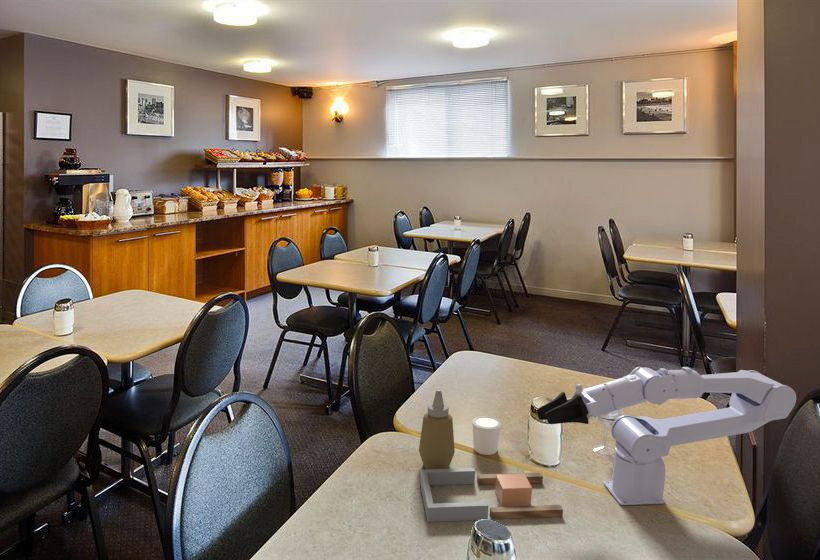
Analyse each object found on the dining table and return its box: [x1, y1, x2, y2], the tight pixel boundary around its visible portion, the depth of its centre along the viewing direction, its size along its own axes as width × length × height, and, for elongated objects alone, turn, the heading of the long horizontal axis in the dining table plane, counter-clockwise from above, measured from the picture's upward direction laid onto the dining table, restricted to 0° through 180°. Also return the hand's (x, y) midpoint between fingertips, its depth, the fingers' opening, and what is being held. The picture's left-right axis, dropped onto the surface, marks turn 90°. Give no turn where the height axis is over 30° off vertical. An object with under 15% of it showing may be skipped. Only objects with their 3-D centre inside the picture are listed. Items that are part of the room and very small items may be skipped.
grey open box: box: [419, 467, 489, 523], centre depth 105 cm, size 12×13×3 cm
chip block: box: [494, 473, 533, 507], centre depth 106 cm, size 6×5×4 cm
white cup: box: [471, 415, 502, 456], centre depth 125 cm, size 7×7×7 cm
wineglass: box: [593, 409, 624, 456], centre depth 125 cm, size 7×7×12 cm
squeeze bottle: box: [418, 389, 455, 469], centre depth 116 cm, size 8×8×18 cm
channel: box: [476, 472, 564, 520], centre depth 106 cm, size 14×13×2 cm
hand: (542, 416), depth 103 cm, fingers open, 7 cm apart
